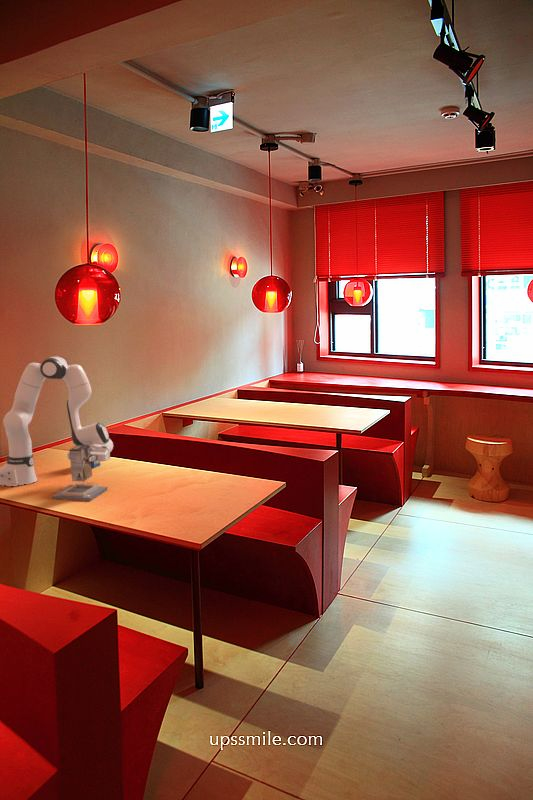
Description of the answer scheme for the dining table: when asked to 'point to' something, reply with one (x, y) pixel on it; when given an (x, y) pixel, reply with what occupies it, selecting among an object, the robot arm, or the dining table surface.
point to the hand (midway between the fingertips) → (80, 459)
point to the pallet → (80, 492)
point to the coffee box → (80, 463)
